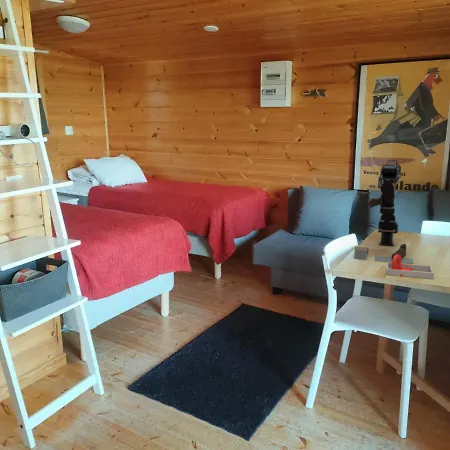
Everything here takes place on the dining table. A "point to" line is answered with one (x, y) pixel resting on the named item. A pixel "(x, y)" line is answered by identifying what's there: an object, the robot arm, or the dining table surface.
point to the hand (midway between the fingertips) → (386, 225)
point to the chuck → (360, 253)
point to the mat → (389, 259)
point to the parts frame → (411, 273)
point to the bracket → (398, 264)
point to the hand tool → (400, 251)
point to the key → (364, 247)
